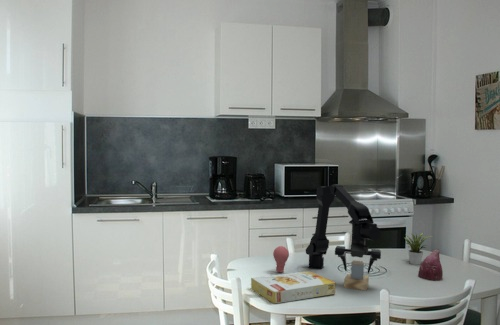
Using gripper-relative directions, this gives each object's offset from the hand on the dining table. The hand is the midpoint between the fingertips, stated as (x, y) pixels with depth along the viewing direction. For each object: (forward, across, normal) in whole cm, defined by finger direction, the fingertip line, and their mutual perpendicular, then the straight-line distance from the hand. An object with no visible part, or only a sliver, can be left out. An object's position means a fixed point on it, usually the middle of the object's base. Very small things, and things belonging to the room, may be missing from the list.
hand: (357, 272), depth 204 cm
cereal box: (+6, -24, -17) cm, 30 cm away
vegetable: (+6, +32, +25) cm, 41 cm away
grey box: (+2, 0, 0) cm, 2 cm away
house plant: (+6, +28, +49) cm, 57 cm away
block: (+6, 0, 0) cm, 6 cm away
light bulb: (+6, -34, +8) cm, 36 cm away
